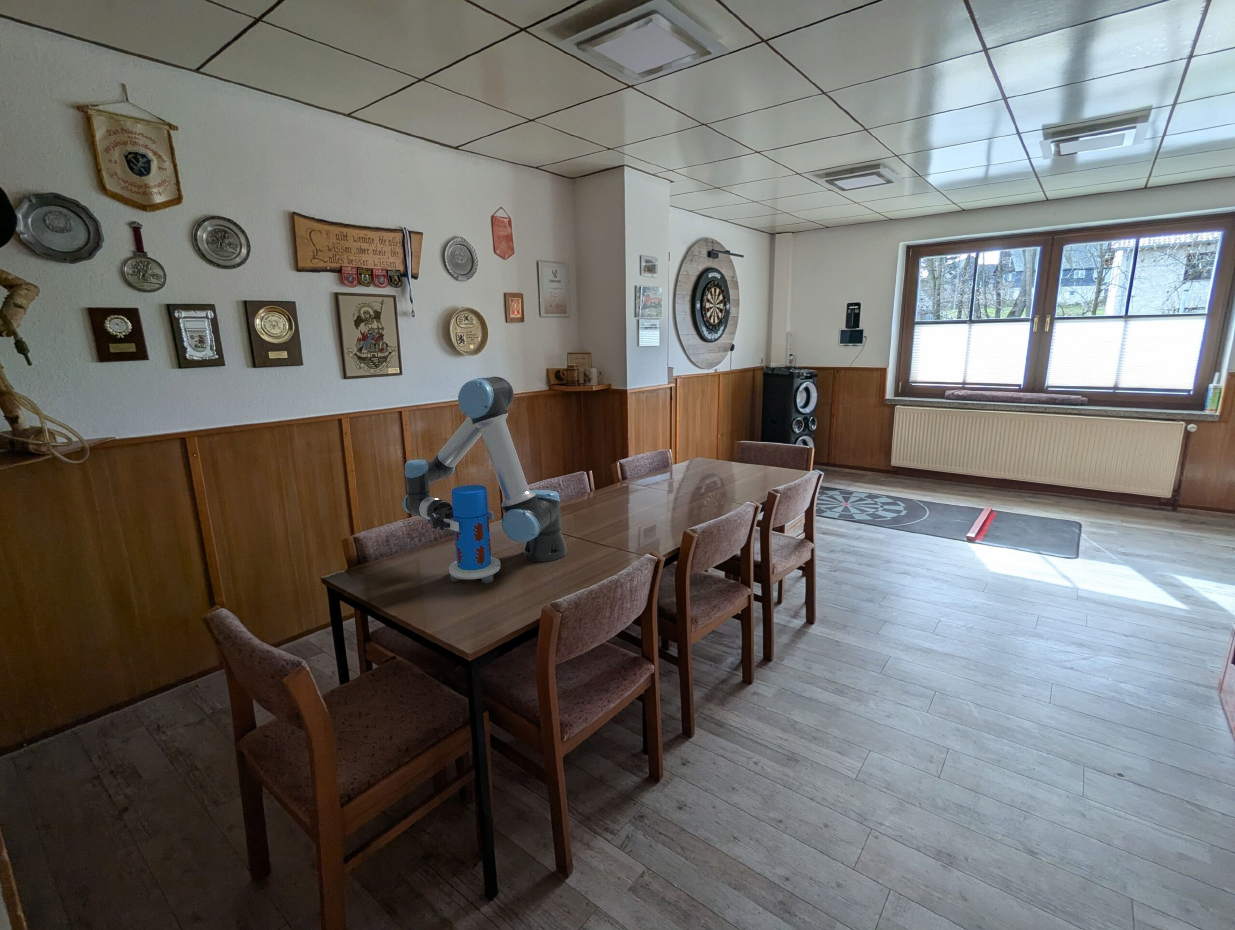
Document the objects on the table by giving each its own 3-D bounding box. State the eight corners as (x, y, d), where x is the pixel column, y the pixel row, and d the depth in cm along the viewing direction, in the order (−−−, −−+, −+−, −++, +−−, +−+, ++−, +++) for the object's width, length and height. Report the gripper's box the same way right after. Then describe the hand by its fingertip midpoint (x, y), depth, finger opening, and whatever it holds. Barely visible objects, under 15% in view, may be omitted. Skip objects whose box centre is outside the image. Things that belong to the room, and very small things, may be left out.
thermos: (494, 557, 189) (489, 484, 184) (488, 570, 179) (483, 493, 174) (461, 558, 189) (455, 485, 184) (453, 571, 179) (447, 493, 173)
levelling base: (441, 585, 178) (440, 573, 177) (462, 565, 194) (461, 554, 193) (490, 588, 176) (489, 575, 175) (507, 567, 191) (507, 556, 190)
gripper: (467, 511, 203) (507, 522, 190) (403, 530, 184) (442, 543, 171) (466, 491, 201) (506, 500, 188) (401, 507, 182) (440, 519, 169)
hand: (476, 521), depth 179 cm, fingers open, 13 cm apart
